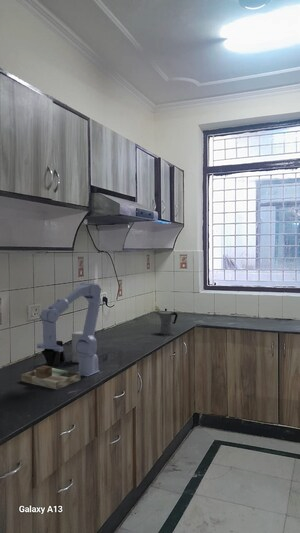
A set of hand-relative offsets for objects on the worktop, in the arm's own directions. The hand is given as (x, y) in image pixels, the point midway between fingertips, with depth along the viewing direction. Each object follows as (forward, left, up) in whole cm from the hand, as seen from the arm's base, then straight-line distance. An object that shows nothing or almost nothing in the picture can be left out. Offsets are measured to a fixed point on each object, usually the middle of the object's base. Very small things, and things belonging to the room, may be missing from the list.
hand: (50, 365), depth 178 cm
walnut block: (0, -4, -5) cm, 7 cm away
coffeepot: (-123, -10, -9) cm, 124 cm away
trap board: (-4, -4, -8) cm, 10 cm away
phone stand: (-26, -23, -9) cm, 36 cm away
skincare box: (-36, -15, -9) cm, 40 cm away
